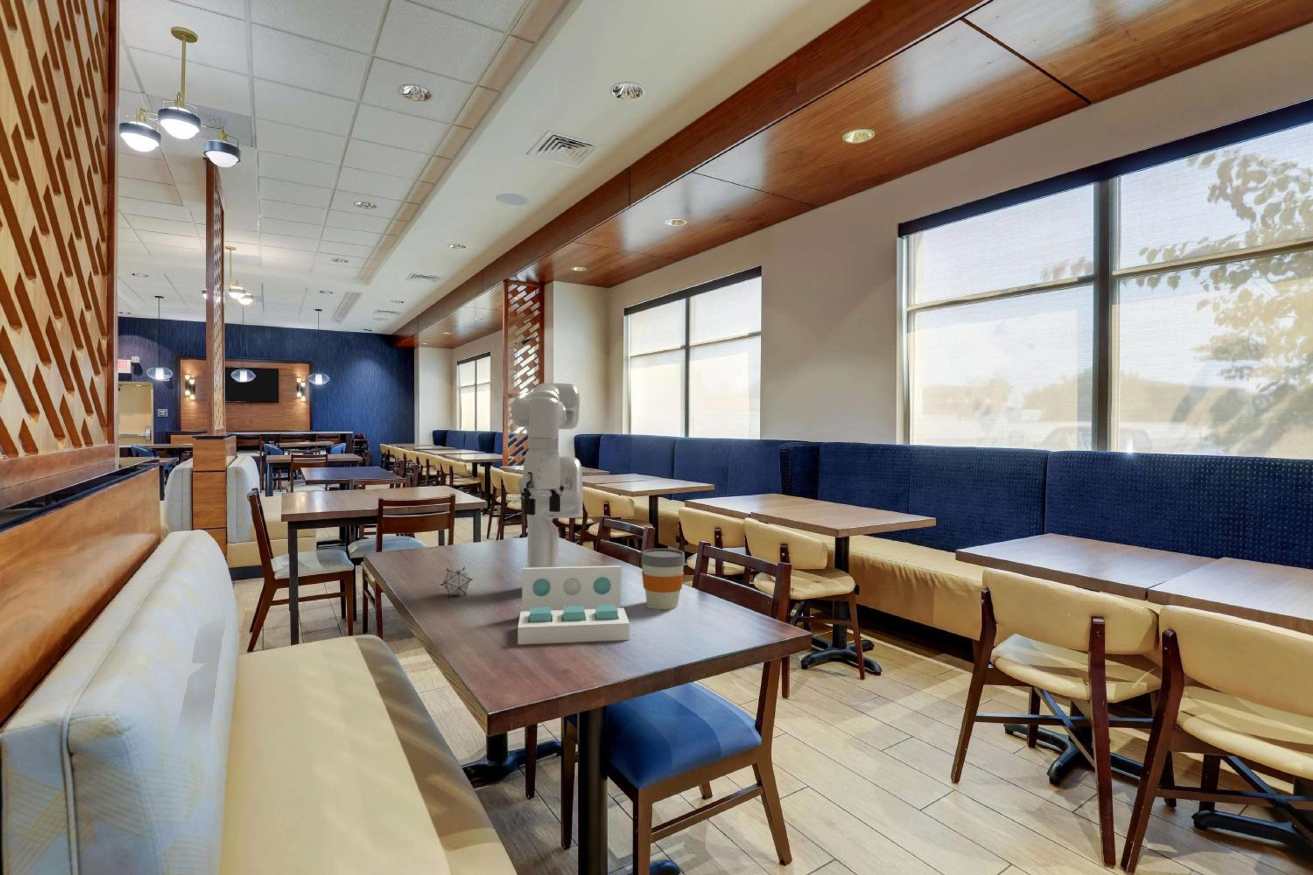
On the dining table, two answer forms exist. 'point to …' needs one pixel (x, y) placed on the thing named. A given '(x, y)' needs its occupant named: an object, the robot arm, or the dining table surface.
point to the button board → (572, 628)
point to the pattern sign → (571, 587)
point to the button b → (573, 613)
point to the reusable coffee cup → (662, 577)
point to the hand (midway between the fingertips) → (542, 513)
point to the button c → (606, 612)
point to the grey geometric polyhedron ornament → (456, 582)
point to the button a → (540, 614)
